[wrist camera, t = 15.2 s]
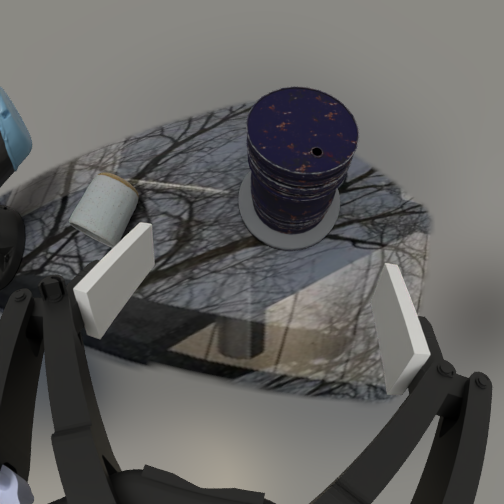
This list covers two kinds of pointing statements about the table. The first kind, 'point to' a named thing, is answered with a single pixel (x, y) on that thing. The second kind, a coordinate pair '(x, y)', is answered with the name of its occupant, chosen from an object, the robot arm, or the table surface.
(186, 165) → the table surface
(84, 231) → the ceramic mug
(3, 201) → the table surface
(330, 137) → the navy cylinder
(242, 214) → the grey flat round disc
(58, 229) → the table surface
